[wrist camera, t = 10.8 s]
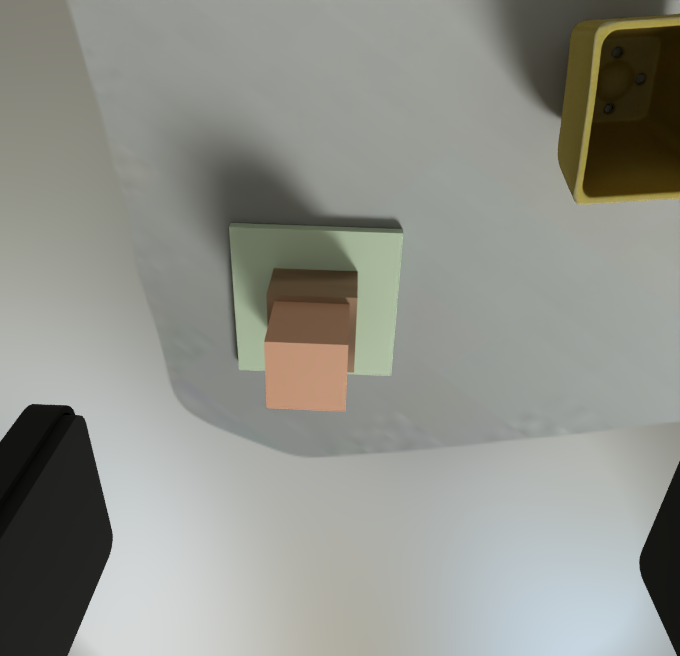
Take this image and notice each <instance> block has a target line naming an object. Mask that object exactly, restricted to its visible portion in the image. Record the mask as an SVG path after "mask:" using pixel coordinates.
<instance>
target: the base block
mask: <svg viewBox="0 0 680 656" xmlns="http://www.w3.org/2000/svg"><path fill="white" fill-rule="evenodd" d="M266 298H267V323H268V324H269V320H270V316H271V312H272V308H273V304H274V301H283V302H308V303H332V304H350V311H349V341H348V365H347V372H350V373H354V362H355V341H356V319H357V298H358V271H336V270H309V269H282V268H274V269H273V273H272V276H271V280H270V283H269V287H268V291H267V294H266Z"/></svg>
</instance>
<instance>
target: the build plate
mask: <svg viewBox="0 0 680 656" xmlns="http://www.w3.org/2000/svg"><path fill="white" fill-rule="evenodd" d="M229 234H230V248H231V262H232V276H233V290H234V304H235V318H236V332H237V346H238V360H239V370H255V371H265V353H264V340H265V336H266V332H267V328H268V323H267V298H266V294H267V291H268V287H269V283H270V280H271V276H272V273H273V269H274V268H282V269H309V270H336V271H358V298H357V319H356V341H355V362H354V373H350V372H347V374H357V375H383V376H391V371H392V360H393V348H394V336H395V325H396V313H397V301H398V289H399V278H400V266H401V254H402V243H403V229H387V228H359V227H332V226H304V225H277V224H249V223H231V224H230V226H229Z"/></svg>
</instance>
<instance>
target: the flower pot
mask: <svg viewBox="0 0 680 656" xmlns="http://www.w3.org/2000/svg"><path fill="white" fill-rule="evenodd" d="M617 47H619V48H621V49H622V53H621V55H620V56H619V57H613V55H612V52H613V50H614V49H615V48H617ZM639 74H643V75H644V77H645V79H644V81H643V82H642V83H640V84H637V83H636V81H635V79H636V77H637V76H638V75H639ZM607 104H612V105H613V109H612V111H611V112H609V113H606V112H605V111H604V108H605V106H606V105H607ZM558 160H559V165H560V168H561V171H562V173H563V175H564V178H565V180H566V183H567V185H568V187H569V190H570V192H571V194H572V196H573V199H574V201H575V202H576V203H577V204H579V205H589V204H603V203H617V202H630V201H646V200H661V199H679V198H680V14H672V15H659V16H645V17H631V18H616V19H600V20H586V21H582V22H580V23H578V24H577V25H576V26H575V27H574V28H573V30H572V33H571V38H570V47H569V58H568V68H567V77H566V86H565V94H564V103H563V111H562V120H561V128H560V135H559V143H558Z"/></svg>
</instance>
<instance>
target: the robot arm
mask: <svg viewBox="0 0 680 656" xmlns="http://www.w3.org/2000/svg"><path fill="white" fill-rule="evenodd" d="M112 538H113V534H112V529H111V525H110V520H109V516H108V513H107V508H106V504H105V500H104V496H103V492H102V487H101V483H100V479H99V475H98V471H97V467H96V462H95V458H94V454H93V450H92V446H91V442H90V438H89V434H88V429H87V425H86V422H85V419H84V418H83V416H79V415H75V413H74V410H73V409H72V408H71V407H70V406H66V405H41V404H32V405H29V406H28V407H27V408H26V409H25V410H24V411H23V412H22V413H21V415H20V416H19V417H18V419H17V420H16V422H15V423H14V424H13V425H12V427H11V428H10V430H9V431H8V432H7V434H6V435H5V436H4V438H3V439H2V440H1V442H0V656H67V655H68V653H69V651H70V648H71V646H72V644H73V641H74V639H75V636H76V634H77V631H78V629H79V627H80V625H81V622H82V620H83V617H84V615H85V612H86V610H87V608H88V605H89V603H90V601H91V598H92V596H93V593H94V591H95V589H96V586H97V584H98V582H99V579H100V577H101V574H102V572H103V570H104V567H105V565H106V562H107V560H108V558H109V555H110V552H111V548H112V541H113V539H112ZM639 564H640V572H641V576H642V579H643V581H644V583H645V586H646V588H647V590H648V592H649V594H650V597H651V599H652V601H653V603H654V605H655V608H656V610H657V612H658V614H659V617H660V619H661V621H662V623H663V625H664V628H665V630H666V632H667V634H668V636H669V639H670V641H671V643H672V645H673V647H674V650H675V652H676V654H677V656H680V462H679V464H678V466H677V469H676V471H675V474H674V476H673V478H672V481H671V483H670V485H669V488H668V490H667V493H666V495H665V497H664V500H663V502H662V504H661V507H660V509H659V512H658V514H657V516H656V519H655V521H654V524H653V526H652V528H651V531H650V533H649V535H648V538H647V540H646V542H645V545H644V547H643V550H642V552H641V555H640V562H639Z"/></svg>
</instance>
